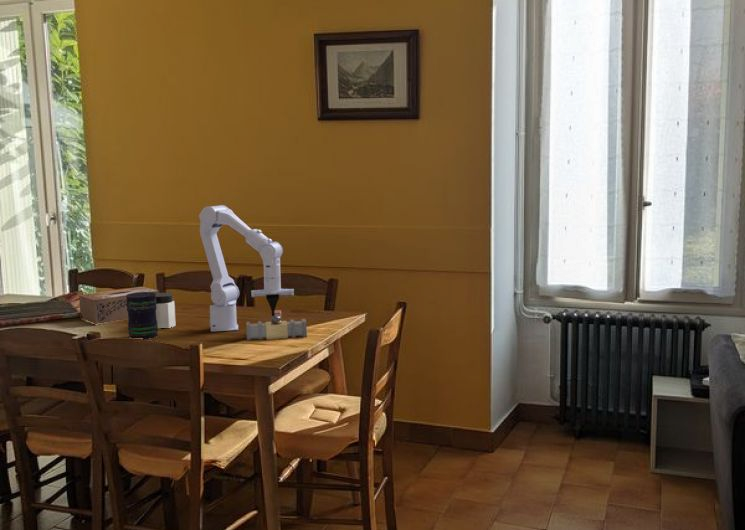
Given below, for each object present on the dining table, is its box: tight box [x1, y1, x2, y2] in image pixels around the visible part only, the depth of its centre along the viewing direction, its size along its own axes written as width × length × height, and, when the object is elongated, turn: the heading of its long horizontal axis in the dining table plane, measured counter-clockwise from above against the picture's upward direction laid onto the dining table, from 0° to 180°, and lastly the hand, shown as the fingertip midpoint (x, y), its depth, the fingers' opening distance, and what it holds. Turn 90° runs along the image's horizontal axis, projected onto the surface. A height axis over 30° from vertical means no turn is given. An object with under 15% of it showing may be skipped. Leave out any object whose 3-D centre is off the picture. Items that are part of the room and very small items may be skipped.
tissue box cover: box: [78, 286, 160, 324], centre depth 287 cm, size 26×14×10 cm, turn 133°
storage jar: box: [126, 292, 159, 339], centre depth 253 cm, size 10×10×15 cm
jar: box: [155, 292, 176, 329], centre depth 268 cm, size 9×8×12 cm
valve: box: [245, 318, 308, 341], centre depth 250 cm, size 20×6×5 cm, turn 100°
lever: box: [270, 309, 283, 323], centre depth 254 cm, size 13×4×2 cm, turn 4°
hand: (273, 316), depth 256 cm, fingers closed, pressing on lever
